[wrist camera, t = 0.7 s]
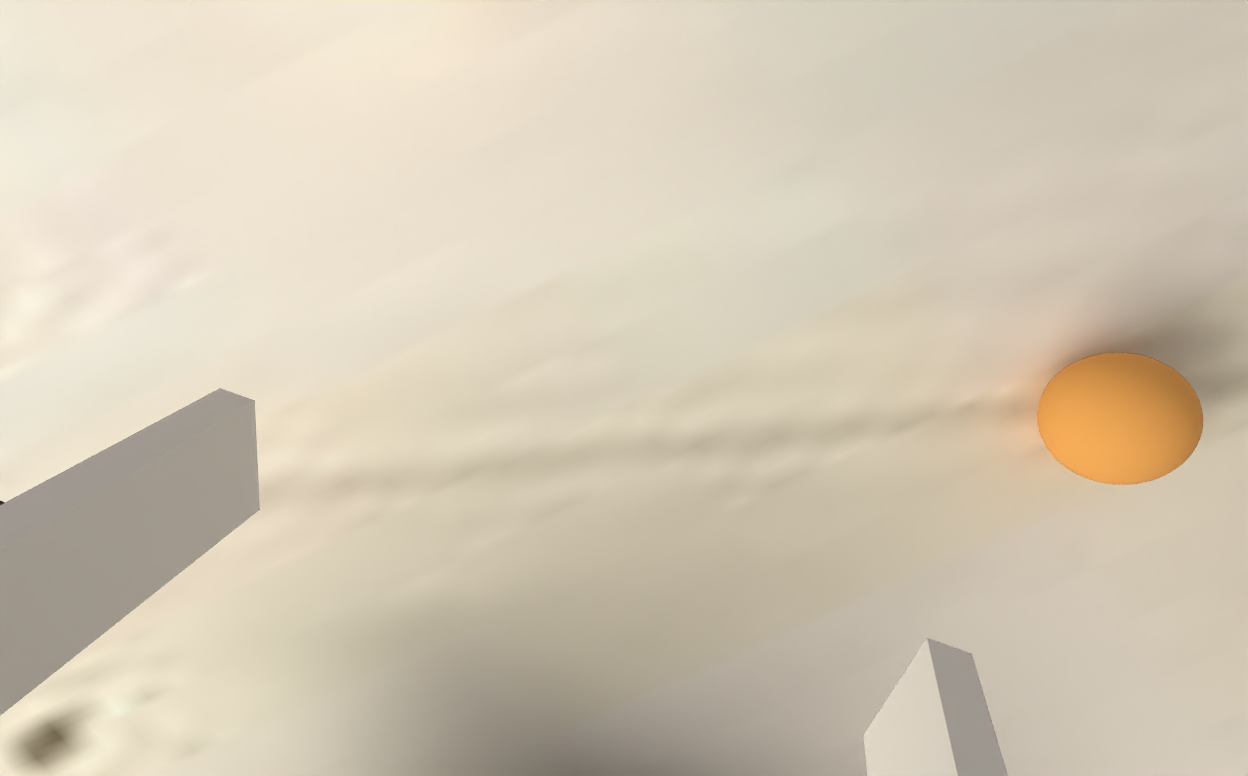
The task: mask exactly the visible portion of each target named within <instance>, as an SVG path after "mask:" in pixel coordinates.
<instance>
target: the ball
mask: <svg viewBox="0 0 1248 776" xmlns="http://www.w3.org/2000/svg"><path fill="white" fill-rule="evenodd" d="M1037 416H1038V427H1039V432H1040V435H1041V437H1042V439H1043V441H1044V443H1045V445H1046V447H1047V449H1048V450H1049V451H1050V453H1051V454H1052V455H1053V456H1054V457H1055V458H1056V459H1057V460H1058V461H1059V462H1060V463H1061V464H1062V465H1064V466H1065V467H1066V468H1068V469H1069V470H1071V471H1073V472H1074V473H1076V474H1078V475H1081V476H1083V477H1085V478H1088V479H1090V480H1094V481H1098V482H1102V483H1108V484H1138V483H1142V482H1147V481H1151V480H1154V479H1157V478H1160V477H1162V476H1164V475H1166V474H1168V473H1170V472H1171V471H1173V470H1175V469H1176V468H1177V467H1179V466H1180V465H1181V464H1183V463H1184V462H1185V461H1186V460H1187V459H1188V458H1189V456H1190V455H1191V454H1192V453H1193V451H1194V449H1195V448H1196V446H1197V444H1198V442H1199V440H1200V437H1201V433H1202V428H1203V414H1202V408H1201V404H1200V401H1199V399H1198V397H1197V395H1196V393H1195V391H1194V390H1193V388H1192V387H1191V385H1190V384H1189V383H1188V382H1187V381H1186V379H1185V378H1184V377H1183V376H1181V375H1180V374H1179V373H1178V372H1177V371H1175V370H1174V369H1173V368H1171V367H1169V366H1167V365H1166V364H1164V363H1162V362H1160V361H1158V360H1155V359H1153V358H1150V357H1146V356H1142V355H1138V354H1132V353H1104V354H1097V355H1093V356H1090V357H1087V358H1084V359H1081V360H1078V361H1076V362H1074V363H1072V364H1070V365H1069V366H1067V367H1066V368H1064V369H1063V370H1062V371H1061V372H1059V373H1058V374H1057V375H1056V376H1055V377H1054V378H1053V379H1052V380H1051V381H1050V383H1049V384H1048V385H1047V387H1046V388H1045V390H1044V392H1043V394H1042V396H1041V399H1040V402H1039V406H1038V414H1037Z"/></svg>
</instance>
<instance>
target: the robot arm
mask: <svg viewBox="0 0 1248 776" xmlns="http://www.w3.org/2000/svg"><path fill="white" fill-rule="evenodd" d="M258 510H260V506H259V485H258V464H257V442H256V421H255V401H254V400H252V399H249V398H246V397H243V396H240V395H237V394H235V393H232V392H229V391H226V390H223V389H218V390H216V391H214V392H212V393H210V394H209V395H207V396H205V397H203V398H201V399H199V400H197V401H195V402H193V403H192V404H190V405H188V406H186V407H184V408H182V409H180V410H178V411H177V412H175V413H173V414H171V415H169V416H167V417H165V418H163V419H162V420H160V421H158V422H156V423H154V424H152V425H150V426H148V427H146V428H145V429H143V430H141V431H139V432H137V433H135V434H133V435H131V436H130V437H128V438H126V439H124V440H122V441H120V442H118V443H116V444H115V445H113V446H111V447H109V448H107V449H105V450H103V451H101V452H99V453H98V454H96V455H94V456H92V457H90V458H88V459H86V460H84V461H83V462H81V463H79V464H77V465H75V466H73V467H71V468H69V469H68V470H66V471H64V472H62V473H60V474H58V475H56V476H54V477H53V478H51V479H49V480H47V481H45V482H43V483H41V484H39V485H37V486H36V487H34V488H32V489H30V490H28V491H26V492H24V493H22V494H21V495H19V496H17V497H15V498H13V499H11V500H9V501H7V502H6V503H5V502H2V501H0V715H2V714H3V713H4V712H5V711H7V710H8V709H9V708H10V707H12V706H13V705H14V704H15V703H17V702H18V701H19V700H20V699H22V698H23V697H24V696H25V695H27V694H28V693H29V692H30V691H32V690H33V689H34V688H36V687H37V686H38V685H39V684H41V683H42V682H43V681H44V680H46V679H47V678H48V677H49V676H51V675H52V674H53V673H54V672H56V671H57V670H58V669H59V668H61V667H62V666H63V665H64V664H66V663H67V662H68V661H70V660H71V659H72V658H73V657H75V656H76V655H77V654H78V653H80V652H81V651H82V650H83V649H85V648H86V647H87V646H88V645H90V644H91V643H92V642H93V641H95V640H96V639H97V638H98V637H100V636H101V635H102V634H104V633H105V632H106V631H107V630H109V629H110V628H111V627H112V626H114V625H115V624H116V623H117V622H119V621H120V620H121V619H122V618H124V617H125V616H126V615H127V614H129V613H130V612H131V611H132V610H134V609H135V608H136V607H137V606H139V605H140V604H141V603H143V602H144V601H145V600H146V599H148V598H149V597H150V596H151V595H153V594H154V593H155V592H156V591H158V590H159V589H160V588H161V587H163V586H164V585H165V584H166V583H168V582H169V581H170V580H171V579H173V578H174V577H175V576H177V575H178V574H179V573H180V572H182V571H183V570H184V569H185V568H187V567H188V566H189V565H190V564H192V563H193V562H194V561H195V560H197V559H198V558H199V557H200V556H202V555H203V554H204V553H205V552H207V551H208V550H209V549H211V548H212V547H213V546H214V545H216V544H217V543H218V542H219V541H221V540H222V539H223V538H224V537H226V536H227V535H228V534H229V533H231V532H232V531H233V530H234V529H236V528H237V527H238V526H239V525H241V524H242V523H243V522H244V521H246V520H247V519H248V518H250V517H251V516H252V515H253V514H255V513H256V512H257V511H258ZM863 736H864V747H865V758H866V768H867V776H1008V775H1007V772H1006V768H1005V765H1004V762H1003V758H1002V755H1001V751H1000V748H999V745H998V741H997V738H996V734H995V731H994V728H993V724H992V721H991V718H990V714H989V711H988V707H987V704H986V701H985V697H984V694H983V691H982V687H981V684H980V680H979V677H978V674H977V670H976V667H975V663H974V660H973V657H972V654H971V653H968V652H965V651H963V650H960V649H957V648H954V647H951V646H948V645H946V644H943V643H940V642H937V641H934V640H931V639H929V638H927V639H926V640H925V642H924V643H923V645H922V646H921V648H920V649H919V651H918V652H917V654H916V655H915V657H914V658H913V660H912V661H911V663H910V665H909V666H908V668H907V669H906V671H905V672H904V674H903V675H902V677H901V678H900V680H899V681H898V683H897V684H896V686H895V687H894V689H893V691H892V692H891V694H890V695H889V697H888V698H887V700H886V701H885V703H884V704H883V706H882V707H881V709H880V710H879V712H878V713H877V715H876V717H875V718H874V720H873V721H872V723H871V724H870V726H869V727H868V729H867V730H866V732H865V733H864V735H863Z"/></svg>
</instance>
